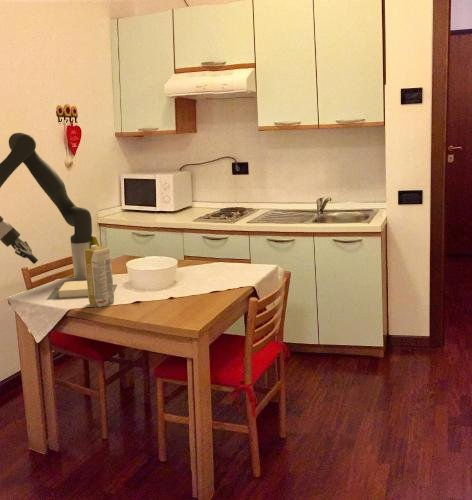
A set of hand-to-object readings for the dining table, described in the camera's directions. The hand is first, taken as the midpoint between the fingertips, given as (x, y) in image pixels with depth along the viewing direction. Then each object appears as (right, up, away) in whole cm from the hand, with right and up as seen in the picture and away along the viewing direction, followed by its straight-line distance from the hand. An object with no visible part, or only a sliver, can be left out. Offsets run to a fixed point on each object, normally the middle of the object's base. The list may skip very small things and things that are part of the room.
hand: (36, 262), depth 273 cm
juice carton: (+31, -17, -15) cm, 38 cm away
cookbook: (+11, -12, +2) cm, 16 cm away
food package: (+21, -6, +36) cm, 42 cm away
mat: (+19, -13, +2) cm, 24 cm away
